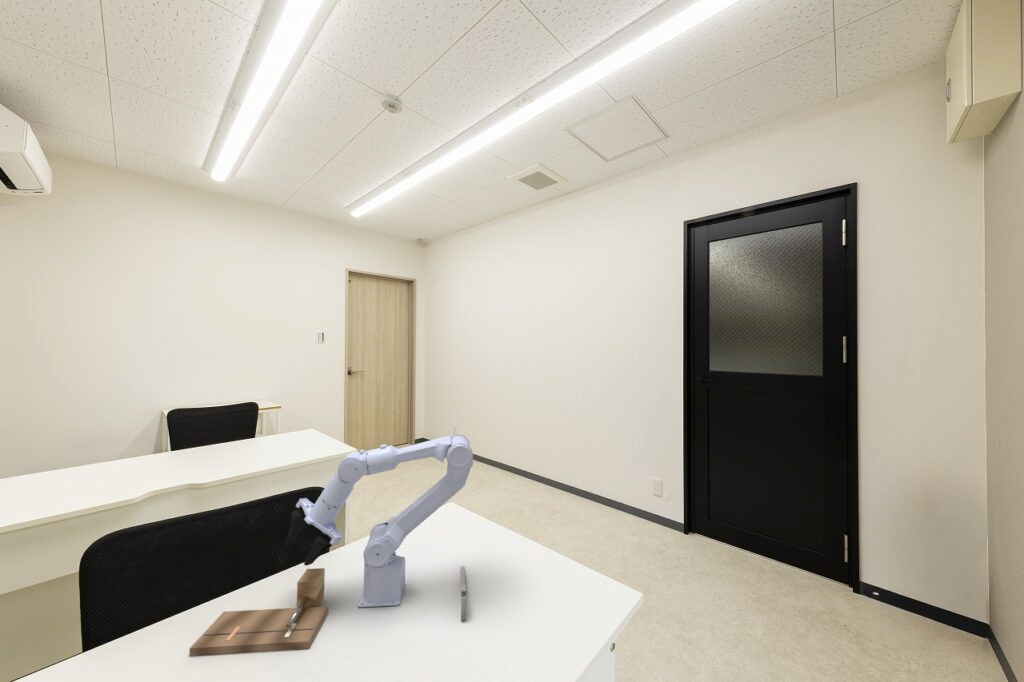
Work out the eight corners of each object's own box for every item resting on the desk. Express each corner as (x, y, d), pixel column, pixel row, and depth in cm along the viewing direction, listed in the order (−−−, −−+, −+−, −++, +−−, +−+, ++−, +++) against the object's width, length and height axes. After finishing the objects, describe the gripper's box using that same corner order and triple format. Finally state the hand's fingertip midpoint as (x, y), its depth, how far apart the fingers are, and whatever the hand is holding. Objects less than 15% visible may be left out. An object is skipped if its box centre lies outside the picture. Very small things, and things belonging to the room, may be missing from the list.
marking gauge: (323, 597, 90) (324, 568, 90) (298, 640, 77) (299, 605, 77) (306, 598, 89) (307, 568, 89) (278, 641, 76) (279, 606, 76)
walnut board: (328, 612, 85) (328, 605, 85) (309, 648, 75) (309, 640, 75) (223, 618, 82) (223, 611, 82) (189, 656, 72) (189, 647, 72)
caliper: (465, 623, 83) (466, 594, 83) (460, 623, 83) (461, 595, 83) (464, 568, 103) (464, 545, 103) (460, 568, 103) (460, 545, 103)
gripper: (300, 483, 88) (266, 535, 86) (338, 522, 82) (302, 579, 81) (323, 481, 94) (291, 530, 93) (359, 517, 88) (327, 570, 87)
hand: (298, 552), depth 87 cm, fingers open, 7 cm apart
